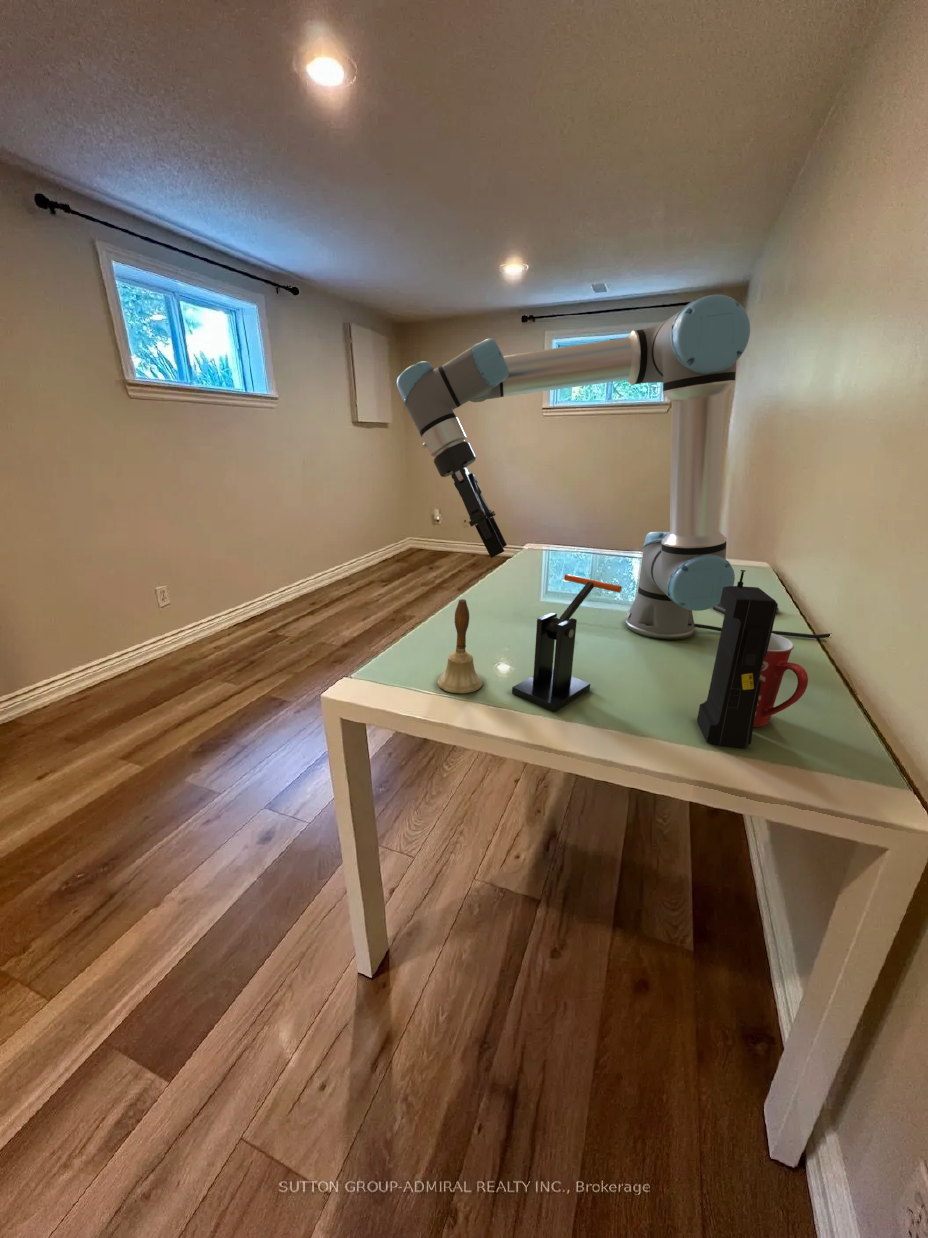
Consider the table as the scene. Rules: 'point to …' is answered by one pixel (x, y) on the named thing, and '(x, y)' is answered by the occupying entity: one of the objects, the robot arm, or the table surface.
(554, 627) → the switch lever
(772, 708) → the mug
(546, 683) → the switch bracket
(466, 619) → the hand bell
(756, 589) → the portable radio
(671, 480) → the robot arm
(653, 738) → the table surface
